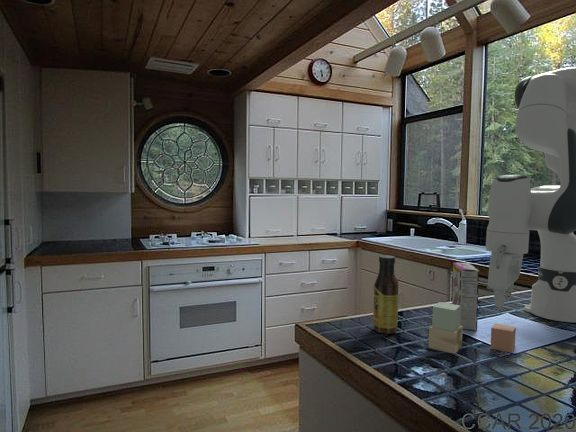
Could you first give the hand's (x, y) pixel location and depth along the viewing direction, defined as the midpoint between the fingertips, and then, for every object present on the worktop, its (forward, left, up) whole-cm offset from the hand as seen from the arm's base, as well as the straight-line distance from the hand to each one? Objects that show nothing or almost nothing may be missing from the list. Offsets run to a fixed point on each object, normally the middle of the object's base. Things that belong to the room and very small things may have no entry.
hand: (503, 302), depth 100 cm
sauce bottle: (+5, -27, -11) cm, 29 cm away
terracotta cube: (-1, 0, -11) cm, 11 cm away
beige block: (+7, -11, -11) cm, 17 cm away
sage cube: (+8, -11, -6) cm, 14 cm away
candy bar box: (-14, -12, -11) cm, 21 cm away
